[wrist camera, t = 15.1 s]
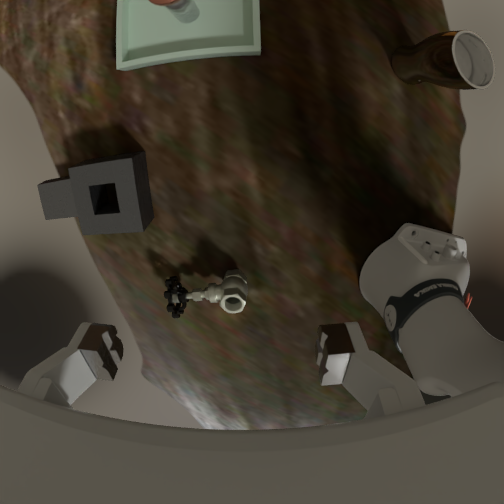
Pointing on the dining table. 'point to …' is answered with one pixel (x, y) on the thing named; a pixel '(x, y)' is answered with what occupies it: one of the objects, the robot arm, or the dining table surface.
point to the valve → (209, 293)
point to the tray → (185, 32)
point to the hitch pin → (180, 9)
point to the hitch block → (102, 195)
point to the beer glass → (446, 61)
